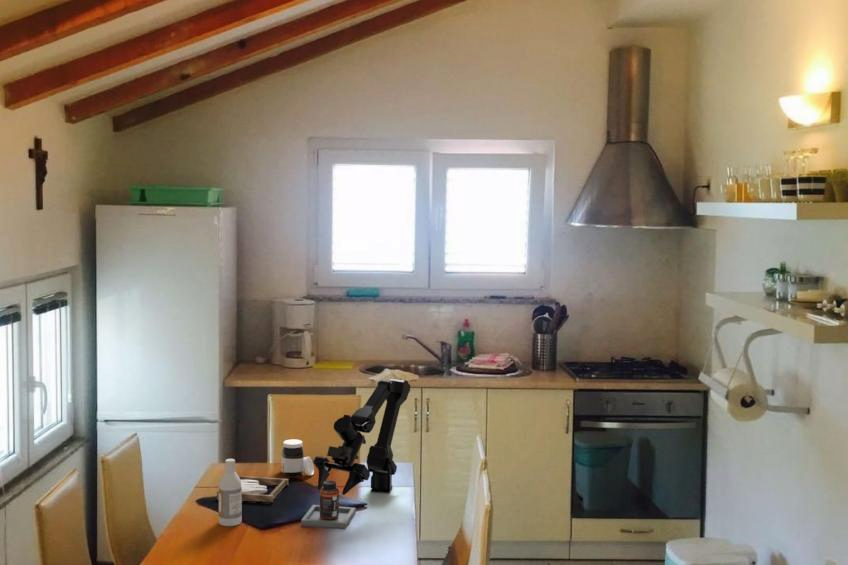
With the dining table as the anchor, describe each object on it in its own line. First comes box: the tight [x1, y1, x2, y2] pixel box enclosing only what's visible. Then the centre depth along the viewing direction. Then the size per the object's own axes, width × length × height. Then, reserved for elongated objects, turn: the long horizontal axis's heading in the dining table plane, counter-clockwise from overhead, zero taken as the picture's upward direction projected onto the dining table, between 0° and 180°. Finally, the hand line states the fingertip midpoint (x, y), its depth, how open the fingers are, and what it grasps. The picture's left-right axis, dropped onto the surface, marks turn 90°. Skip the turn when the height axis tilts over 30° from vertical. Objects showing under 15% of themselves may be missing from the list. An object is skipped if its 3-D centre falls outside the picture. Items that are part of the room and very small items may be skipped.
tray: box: [300, 504, 357, 530], centre depth 290 cm, size 14×14×2 cm
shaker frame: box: [216, 475, 289, 503], centre depth 313 cm, size 19×18×2 cm
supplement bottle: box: [319, 480, 340, 520], centre depth 290 cm, size 6×6×11 cm
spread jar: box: [281, 438, 315, 477], centre depth 334 cm, size 12×11×12 cm
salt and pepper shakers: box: [241, 480, 268, 495], centre depth 312 cm, size 12×4×11 cm
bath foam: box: [218, 458, 243, 527], centre depth 284 cm, size 7×7×20 cm
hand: (330, 491), depth 290 cm, fingers open, 9 cm apart
